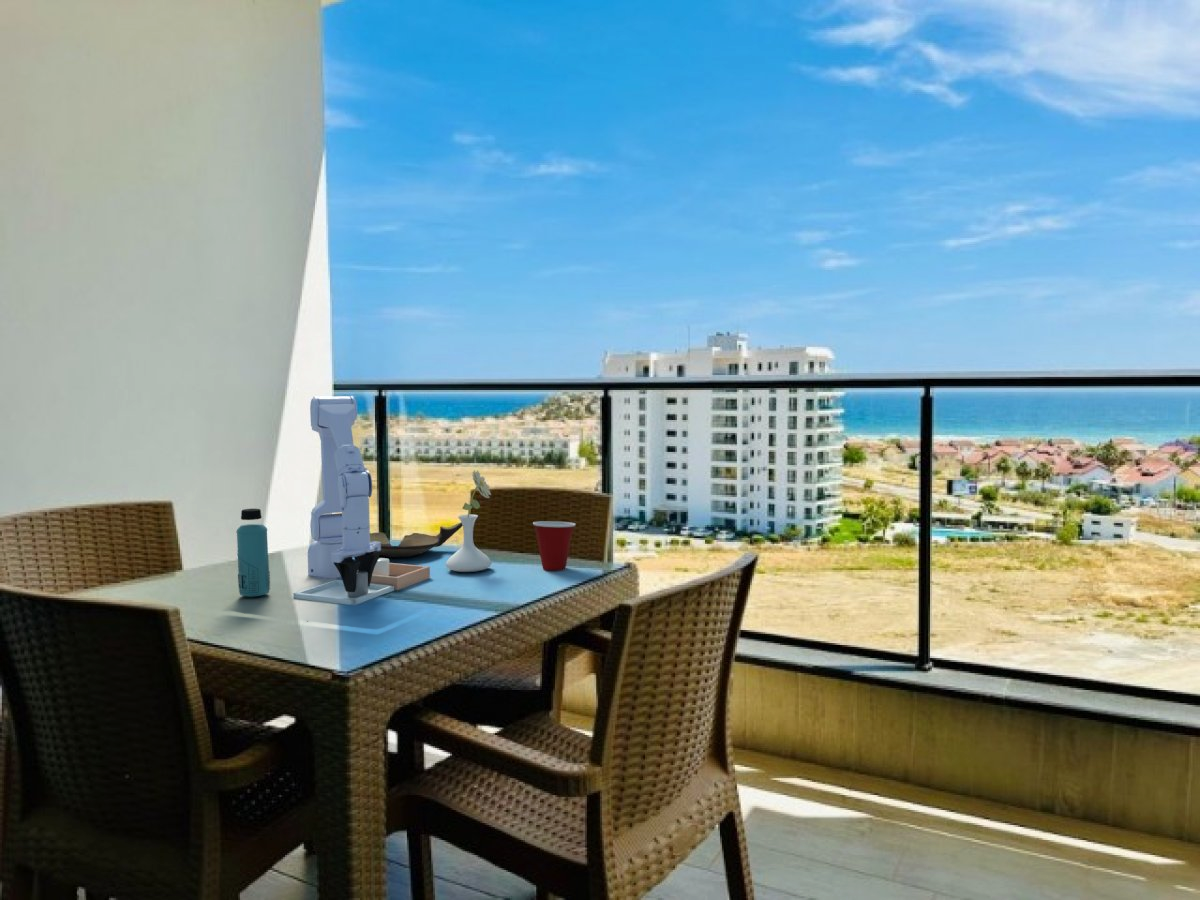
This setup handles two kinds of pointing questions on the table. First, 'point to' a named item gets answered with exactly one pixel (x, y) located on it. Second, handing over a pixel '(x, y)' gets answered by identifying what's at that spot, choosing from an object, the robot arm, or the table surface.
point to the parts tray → (340, 593)
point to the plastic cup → (554, 543)
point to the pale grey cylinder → (382, 567)
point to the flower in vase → (470, 536)
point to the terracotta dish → (402, 575)
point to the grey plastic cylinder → (360, 585)
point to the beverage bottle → (253, 556)
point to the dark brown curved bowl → (413, 542)
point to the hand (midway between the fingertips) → (357, 589)
